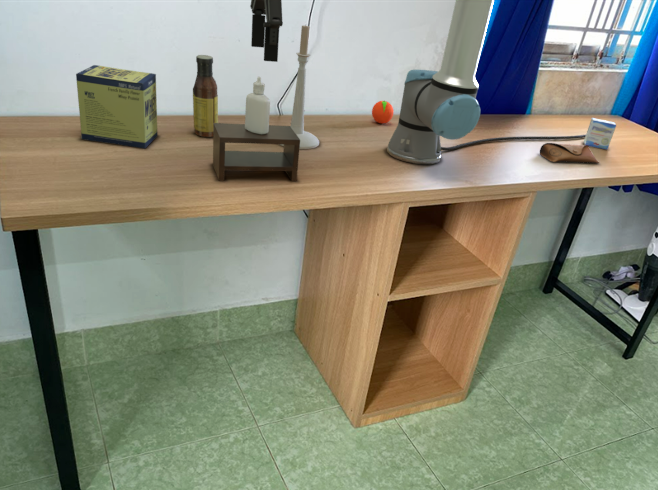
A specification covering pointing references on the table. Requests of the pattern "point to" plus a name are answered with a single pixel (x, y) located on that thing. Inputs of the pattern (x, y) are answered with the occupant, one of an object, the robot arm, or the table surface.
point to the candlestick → (302, 96)
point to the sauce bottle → (205, 97)
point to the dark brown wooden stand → (251, 158)
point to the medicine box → (599, 133)
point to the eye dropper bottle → (257, 109)
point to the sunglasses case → (567, 153)
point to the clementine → (382, 112)
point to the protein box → (117, 106)
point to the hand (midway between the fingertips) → (263, 53)
